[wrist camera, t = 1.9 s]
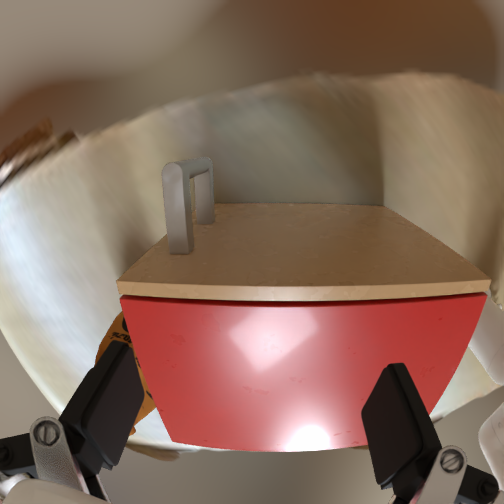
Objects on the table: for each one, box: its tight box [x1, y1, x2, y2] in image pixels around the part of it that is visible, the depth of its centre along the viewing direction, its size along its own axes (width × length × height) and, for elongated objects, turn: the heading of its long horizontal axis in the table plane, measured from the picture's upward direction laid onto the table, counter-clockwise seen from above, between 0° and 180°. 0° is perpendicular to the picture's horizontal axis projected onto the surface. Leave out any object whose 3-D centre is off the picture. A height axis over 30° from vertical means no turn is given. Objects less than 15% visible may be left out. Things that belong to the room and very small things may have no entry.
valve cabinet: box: [120, 291, 488, 451], centre depth 30 cm, size 18×26×24 cm
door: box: [116, 157, 491, 301], centre depth 25 cm, size 8×26×24 cm, turn 91°
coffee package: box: [94, 311, 156, 436], centre depth 37 cm, size 10×12×22 cm
